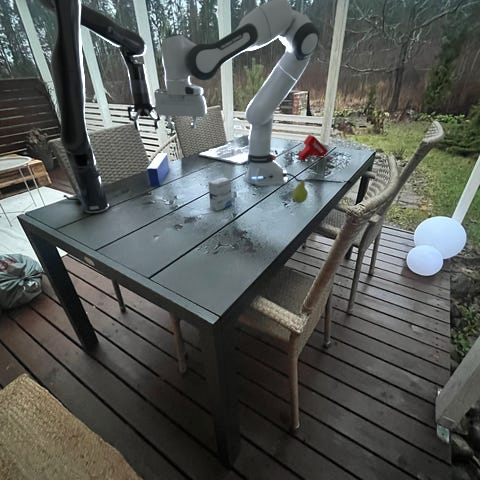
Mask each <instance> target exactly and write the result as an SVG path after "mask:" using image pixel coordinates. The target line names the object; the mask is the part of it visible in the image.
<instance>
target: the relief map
mask: <svg viewBox="0 0 480 480" xmlns="http://www.w3.org/2000/svg"><path fill="white" fill-rule="evenodd" d="M248 152H249V144H248V145H245V146H243V147H241V146H239V145H238V144H237V143H236V142H235V141H233V142H231V141H229V142H228V143H227V144H224V145H221V146H219V147H215V148H209V149H208V150H206V151H202V152H200V153H199V154H198V155H199V156H201V157H205V158H208V159H213V160H219V161H223V162H228V163H231V164H236V165H242V164H245V163H247V155H248Z"/></svg>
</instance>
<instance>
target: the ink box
mask: <svg viewBox="0 0 480 480" xmlns="http://www.w3.org/2000/svg"><path fill="white" fill-rule="evenodd" d="M207 184H208V194H209V195H208V196H209V207H210V209H212V210H213V211H216V212H218V211H221V210H223V209H225V208H227V207H230V206H232V181H231V179H229V178H227V177H220V178H217V179H214V180H211V181H210V180H209V181H208V183H207Z"/></svg>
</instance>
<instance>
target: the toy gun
mask: <svg viewBox="0 0 480 480" xmlns="http://www.w3.org/2000/svg"><path fill="white" fill-rule="evenodd" d="M303 144H304V146H305V147H304V148H303V149H302V150H301V151H300V152H298V154H297V156H298V159H299V160H300V161H303V162H306V161H307V159H308V158H309V157H310V156H312V157H315V156H316V155H318V156H316V157H318V158H320V159H324V158H325V156H326V154H327V153H328V149H327V148H326V147H325V146H324V145H323V144H322V143H321V142H320V141H319V140H318V138H316V137H315V135H311V134H309V135H308V136H307V137H306V138H305V140H304V141H303ZM324 155H325V156H324ZM319 156H324V157H319ZM305 159H306V160H305Z"/></svg>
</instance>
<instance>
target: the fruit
mask: <svg viewBox="0 0 480 480" xmlns="http://www.w3.org/2000/svg"><path fill="white" fill-rule="evenodd" d="M310 177H311V175H310V174H309V175H308V176H307V177H305V179H301V180H302V181H299V182H298V184H297V185H296V186H295V187H294V188H293V190H292V191H291V198H292V200H293V201H294V202H295V203H297V204H301V203H304V202H305V201H306V200H307V198H308V196H309V195H308V190H307V189H306V184H305V183H306V181H305V180H306V179H310Z"/></svg>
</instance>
